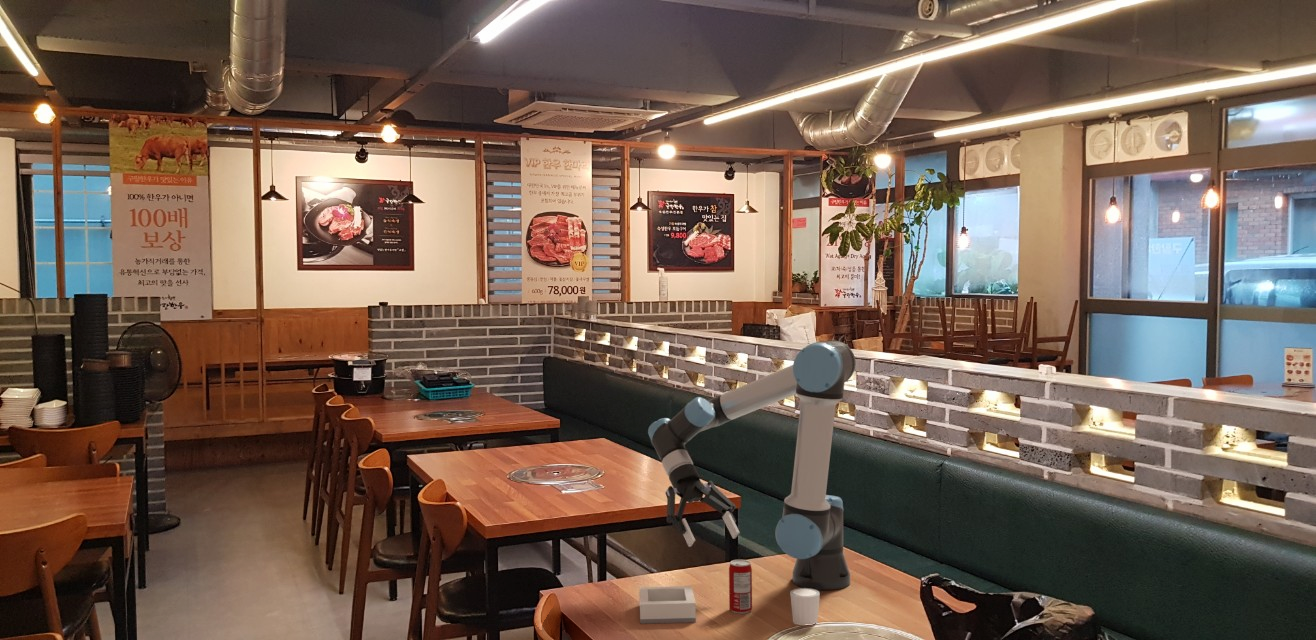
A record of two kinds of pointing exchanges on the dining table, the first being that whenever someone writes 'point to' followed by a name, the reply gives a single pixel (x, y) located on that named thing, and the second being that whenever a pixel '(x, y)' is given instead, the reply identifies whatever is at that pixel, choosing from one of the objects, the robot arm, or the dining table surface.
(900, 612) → the dining table surface
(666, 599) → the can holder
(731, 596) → the soda can
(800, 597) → the shot glass
